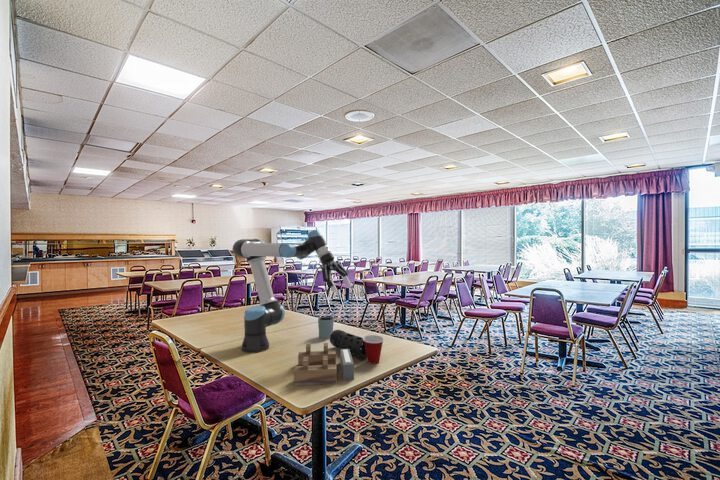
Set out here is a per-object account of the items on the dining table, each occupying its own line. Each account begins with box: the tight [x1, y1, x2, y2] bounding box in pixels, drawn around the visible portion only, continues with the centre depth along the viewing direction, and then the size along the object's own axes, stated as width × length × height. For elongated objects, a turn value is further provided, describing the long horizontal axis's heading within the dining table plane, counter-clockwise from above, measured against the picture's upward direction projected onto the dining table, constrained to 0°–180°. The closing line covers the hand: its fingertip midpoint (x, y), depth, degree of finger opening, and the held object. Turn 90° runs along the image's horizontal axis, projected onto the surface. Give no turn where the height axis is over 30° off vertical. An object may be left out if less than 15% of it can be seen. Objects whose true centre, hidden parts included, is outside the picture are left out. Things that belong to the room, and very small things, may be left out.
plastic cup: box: [362, 334, 385, 364], centre depth 174 cm, size 11×11×12 cm
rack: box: [293, 342, 338, 386], centre depth 160 cm, size 26×18×10 cm
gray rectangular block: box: [339, 348, 355, 381], centre depth 163 cm, size 4×22×7 cm, turn 7°
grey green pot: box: [317, 316, 335, 340], centre depth 219 cm, size 10×10×12 cm
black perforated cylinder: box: [328, 329, 367, 360], centre depth 189 cm, size 10×28×10 cm, turn 39°
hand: (343, 289), depth 188 cm, fingers open, 13 cm apart
